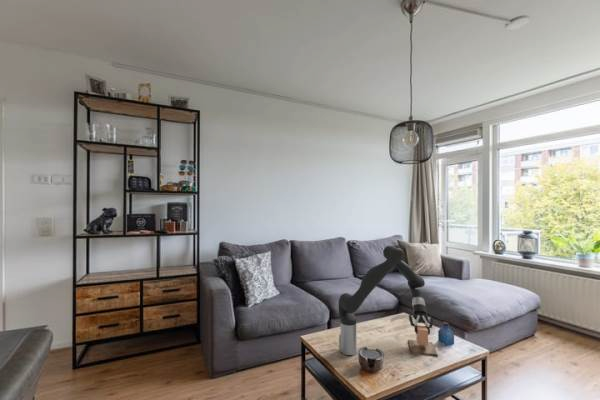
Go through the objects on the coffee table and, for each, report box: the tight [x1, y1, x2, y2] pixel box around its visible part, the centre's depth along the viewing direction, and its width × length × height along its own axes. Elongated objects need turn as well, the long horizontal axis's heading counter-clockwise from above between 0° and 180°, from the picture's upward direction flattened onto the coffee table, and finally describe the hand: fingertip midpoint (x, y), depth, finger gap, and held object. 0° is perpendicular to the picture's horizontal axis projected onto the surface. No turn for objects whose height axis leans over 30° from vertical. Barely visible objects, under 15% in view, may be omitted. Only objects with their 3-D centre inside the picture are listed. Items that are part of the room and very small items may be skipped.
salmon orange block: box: [415, 324, 429, 346], centre depth 166 cm, size 6×6×9 cm
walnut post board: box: [407, 339, 439, 357], centre depth 166 cm, size 14×14×7 cm
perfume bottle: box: [437, 321, 455, 346], centre depth 173 cm, size 6×6×12 cm
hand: (422, 333), depth 165 cm, fingers closed on salmon orange block, 5 cm apart
